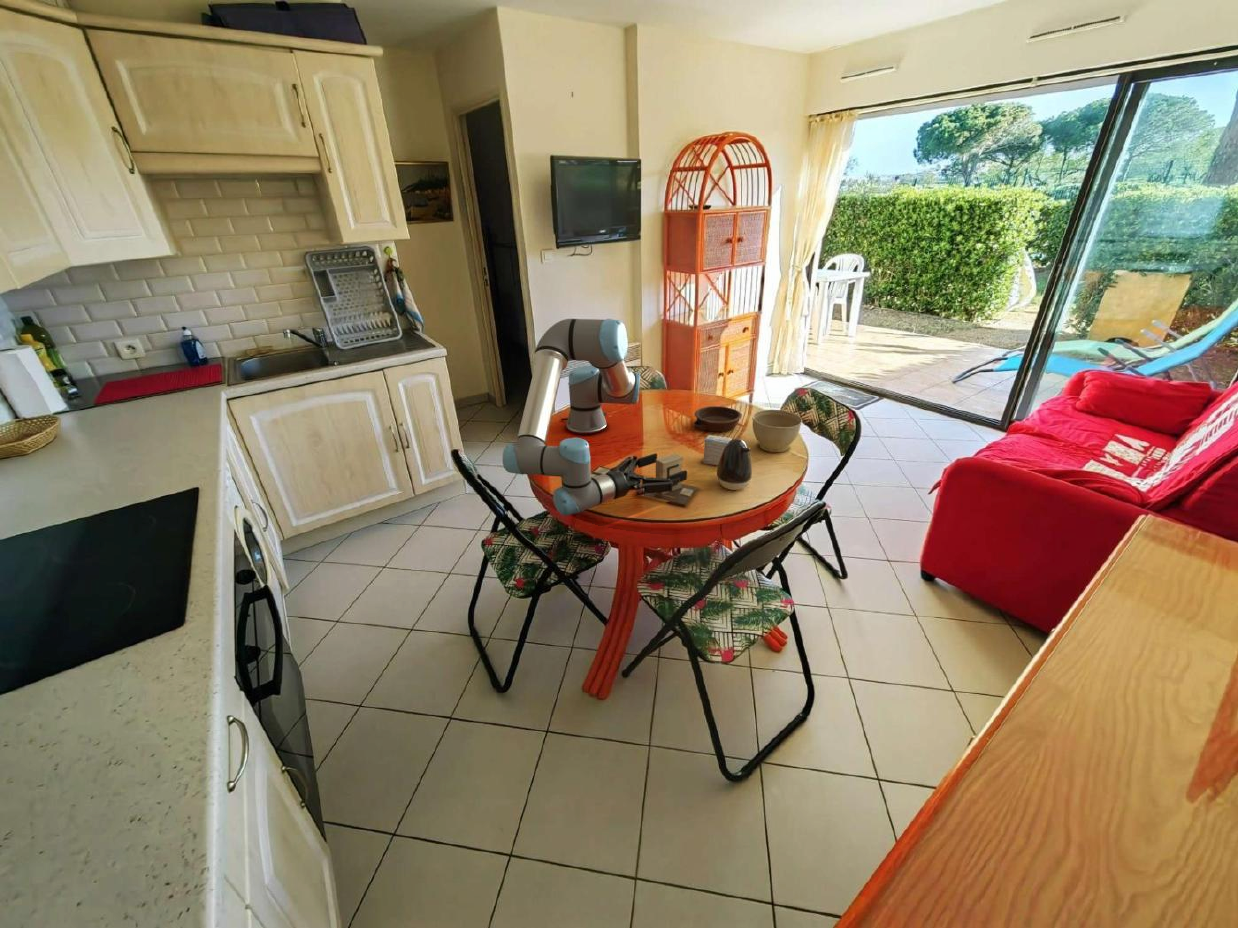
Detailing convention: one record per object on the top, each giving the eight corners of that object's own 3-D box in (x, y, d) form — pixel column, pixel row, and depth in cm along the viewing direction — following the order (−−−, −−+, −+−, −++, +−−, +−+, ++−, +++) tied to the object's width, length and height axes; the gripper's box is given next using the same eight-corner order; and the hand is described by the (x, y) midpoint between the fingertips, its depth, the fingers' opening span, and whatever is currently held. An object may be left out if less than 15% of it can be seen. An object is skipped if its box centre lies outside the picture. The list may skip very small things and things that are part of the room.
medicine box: (730, 462, 167) (732, 437, 163) (726, 467, 163) (728, 443, 159) (706, 458, 170) (708, 434, 166) (702, 463, 166) (704, 439, 162)
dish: (754, 426, 194) (756, 414, 192) (711, 440, 183) (712, 427, 181) (722, 413, 207) (723, 401, 205) (680, 425, 196) (680, 413, 194)
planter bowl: (740, 441, 182) (743, 412, 177) (779, 435, 186) (783, 407, 181) (765, 460, 168) (769, 429, 163) (807, 453, 172) (812, 423, 167)
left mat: (582, 483, 156) (582, 480, 155) (599, 468, 164) (599, 465, 164) (623, 492, 150) (623, 489, 149) (639, 476, 159) (639, 473, 158)
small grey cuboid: (681, 488, 150) (683, 457, 146) (663, 494, 147) (663, 463, 142) (673, 483, 153) (674, 453, 149) (655, 489, 150) (655, 459, 145)
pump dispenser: (730, 497, 146) (735, 449, 140) (708, 482, 155) (712, 436, 148) (758, 489, 151) (763, 442, 144) (735, 475, 159) (739, 430, 152)
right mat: (636, 495, 148) (636, 492, 148) (650, 479, 157) (650, 476, 157) (684, 507, 142) (685, 503, 142) (697, 489, 151) (697, 486, 151)
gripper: (586, 481, 148) (644, 462, 158) (636, 519, 129) (699, 494, 140) (584, 457, 144) (645, 440, 155) (636, 493, 126) (700, 470, 136)
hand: (670, 465), depth 147 cm, fingers open, 13 cm apart
